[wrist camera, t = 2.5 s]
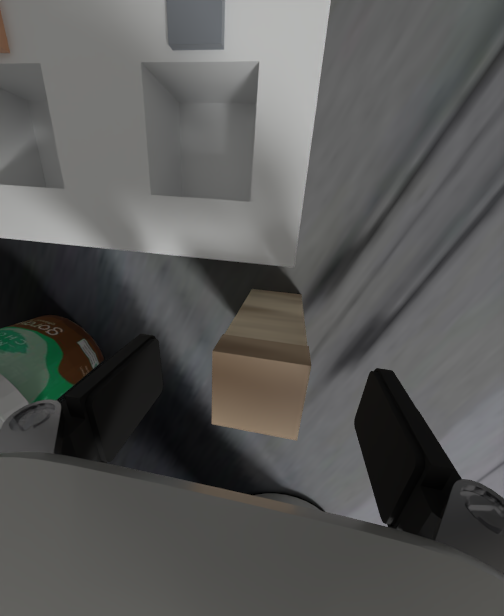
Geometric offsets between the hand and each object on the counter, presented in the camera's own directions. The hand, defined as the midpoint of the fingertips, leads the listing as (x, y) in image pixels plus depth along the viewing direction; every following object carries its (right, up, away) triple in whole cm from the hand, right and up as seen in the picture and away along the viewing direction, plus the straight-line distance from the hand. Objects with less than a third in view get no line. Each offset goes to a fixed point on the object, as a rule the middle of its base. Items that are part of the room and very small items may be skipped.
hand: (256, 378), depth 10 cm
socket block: (-7, +14, +7) cm, 17 cm away
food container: (-20, +1, +14) cm, 25 cm away
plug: (+2, +3, +9) cm, 10 cm away
